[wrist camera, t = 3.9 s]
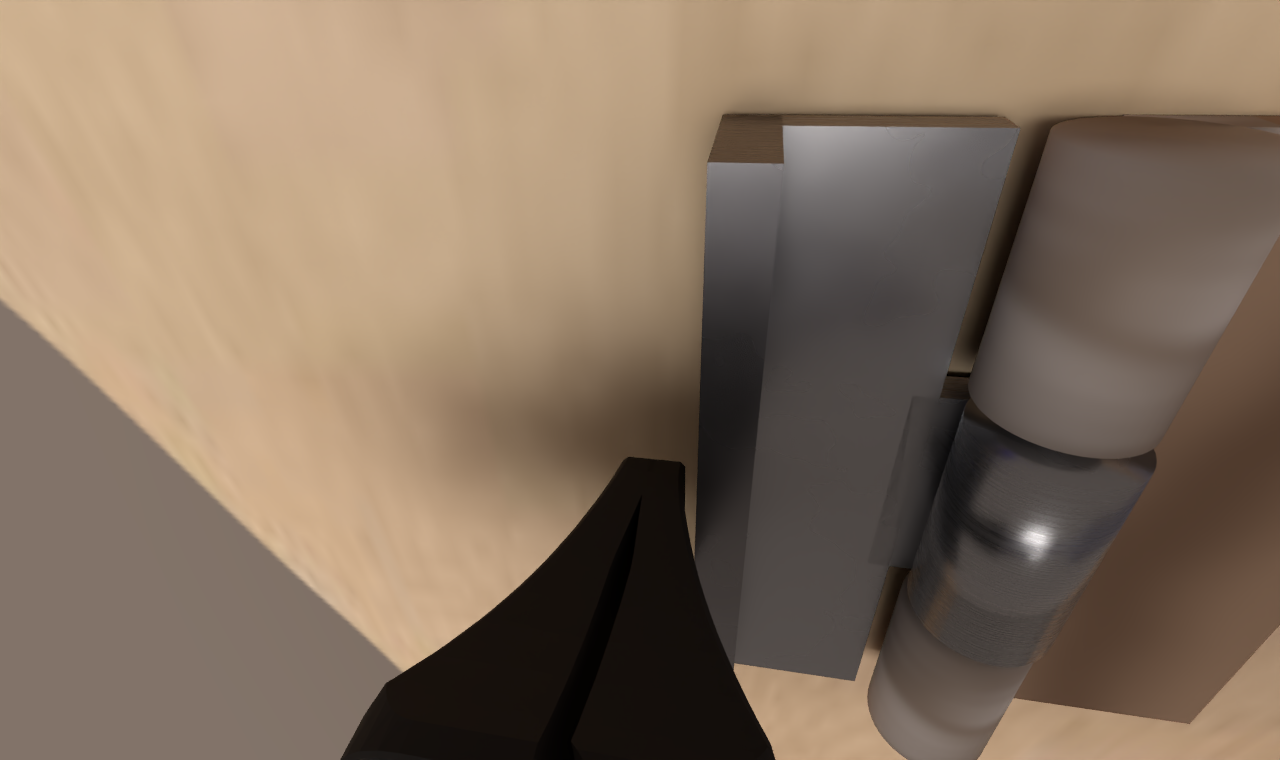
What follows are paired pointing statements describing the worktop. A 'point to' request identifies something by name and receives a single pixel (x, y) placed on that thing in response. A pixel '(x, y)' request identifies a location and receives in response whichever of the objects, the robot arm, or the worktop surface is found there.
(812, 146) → the metal hinge
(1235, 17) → the worktop surface
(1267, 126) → the fixed leaf
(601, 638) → the robot arm
